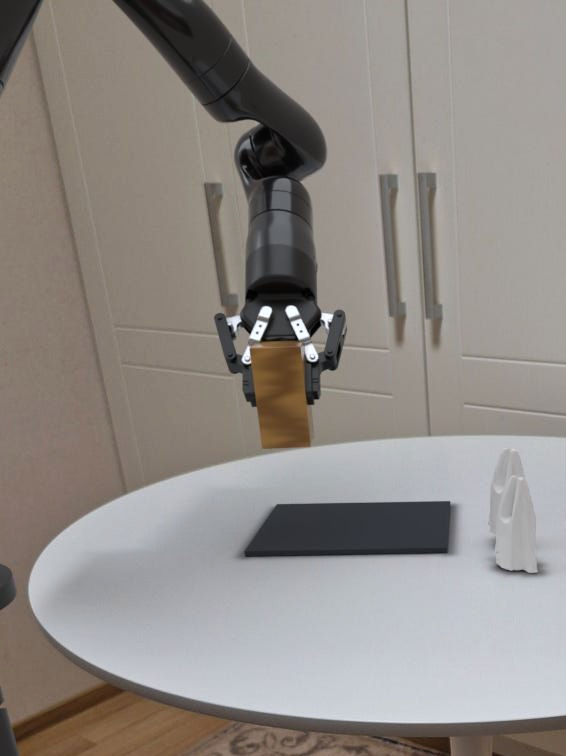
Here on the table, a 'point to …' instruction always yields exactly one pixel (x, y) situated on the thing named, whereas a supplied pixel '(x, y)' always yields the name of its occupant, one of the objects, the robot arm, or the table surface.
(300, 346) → the oak block
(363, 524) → the rubber mat
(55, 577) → the table surface
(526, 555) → the shaker set
